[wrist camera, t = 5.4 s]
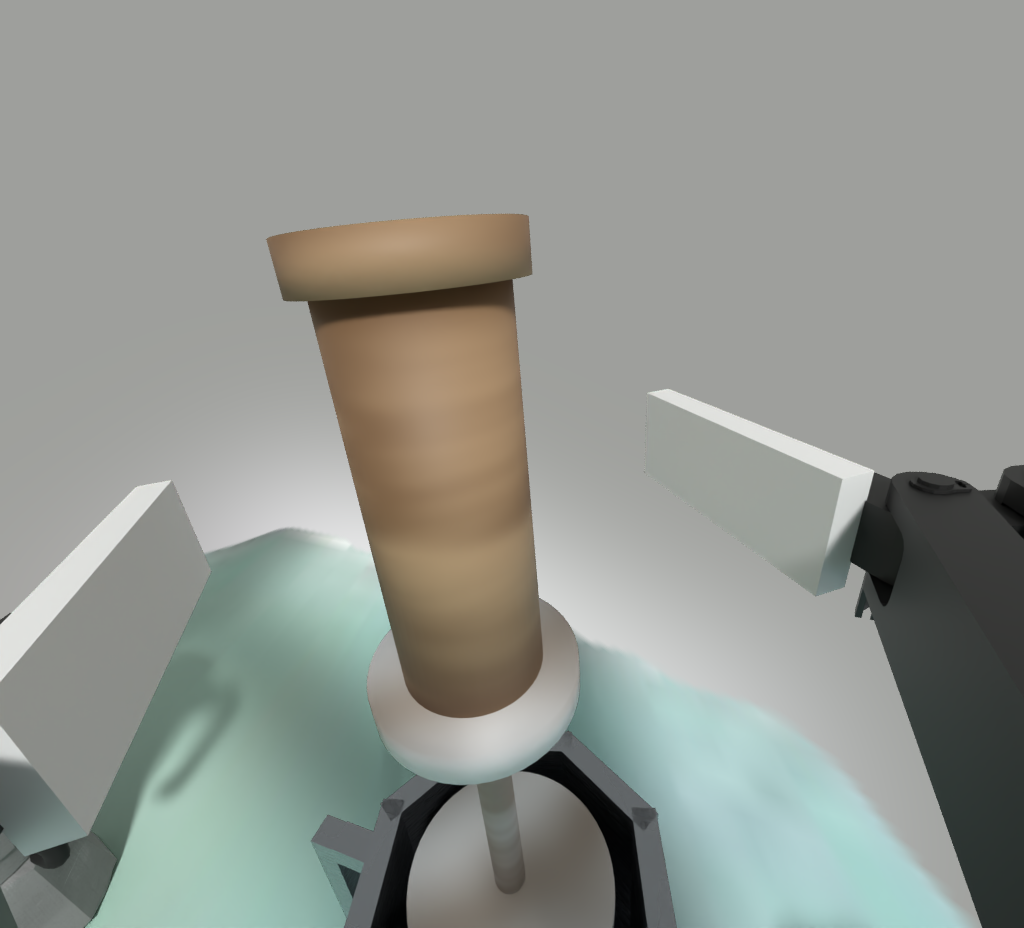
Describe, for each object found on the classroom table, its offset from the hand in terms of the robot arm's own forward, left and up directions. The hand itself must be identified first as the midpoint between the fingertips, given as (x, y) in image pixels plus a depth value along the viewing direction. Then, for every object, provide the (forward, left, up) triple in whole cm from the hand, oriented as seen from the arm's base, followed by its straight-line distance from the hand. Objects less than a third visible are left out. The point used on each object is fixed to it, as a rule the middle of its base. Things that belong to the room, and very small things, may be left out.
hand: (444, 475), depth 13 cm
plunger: (+2, -1, -17) cm, 17 cm away
